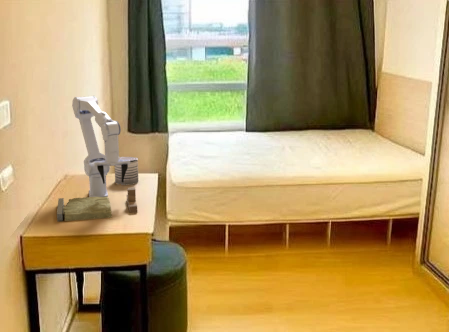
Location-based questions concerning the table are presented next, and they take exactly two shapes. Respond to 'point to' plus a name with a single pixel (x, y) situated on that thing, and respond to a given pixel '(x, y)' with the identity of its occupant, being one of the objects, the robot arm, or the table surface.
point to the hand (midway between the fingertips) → (113, 182)
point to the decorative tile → (87, 208)
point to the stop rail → (60, 209)
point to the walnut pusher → (131, 200)
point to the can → (127, 172)
